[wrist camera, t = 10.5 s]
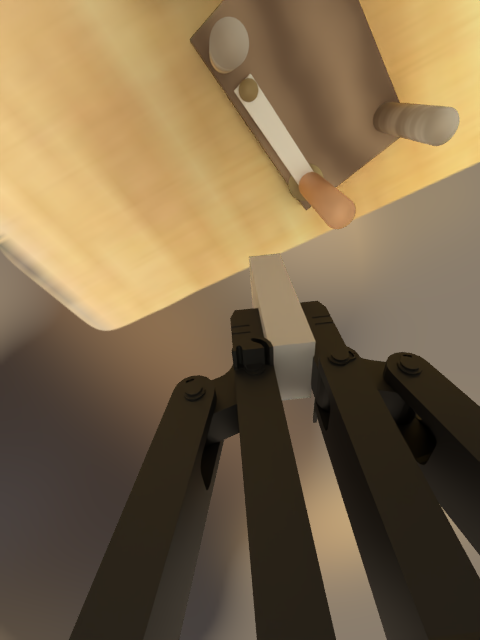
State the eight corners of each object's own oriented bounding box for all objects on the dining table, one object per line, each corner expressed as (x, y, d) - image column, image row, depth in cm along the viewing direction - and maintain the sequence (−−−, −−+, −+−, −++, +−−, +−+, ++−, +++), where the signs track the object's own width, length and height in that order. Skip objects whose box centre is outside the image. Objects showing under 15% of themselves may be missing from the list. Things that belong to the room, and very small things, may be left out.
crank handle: (252, 71, 27) (270, 64, 19) (323, 183, 33) (361, 215, 25) (230, 93, 28) (239, 96, 20) (304, 199, 33) (334, 234, 25)
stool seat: (308, -93, 23) (369, -203, 14) (400, 127, 32) (472, 142, 23) (188, 45, 27) (178, 25, 18) (299, 206, 36) (328, 245, 27)
